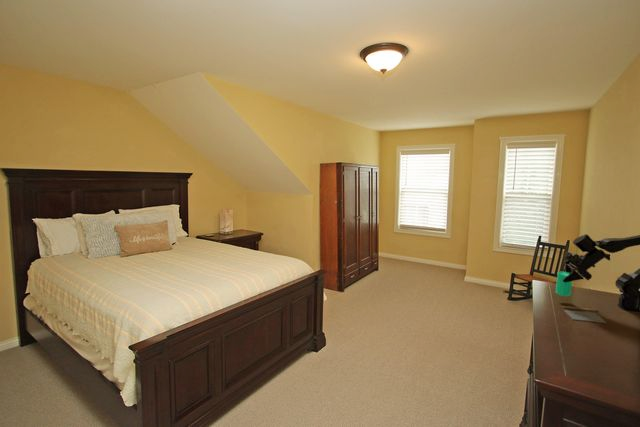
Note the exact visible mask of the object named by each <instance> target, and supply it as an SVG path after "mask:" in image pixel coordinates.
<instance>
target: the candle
mask: <svg viewBox="0 0 640 427" xmlns="http://www.w3.org/2000/svg"><path fill="white" fill-rule="evenodd" d="M569 274H570V273H569V272H566V270H565V272H563V270H558V271H557V277H556V283H555V293H556V294H557V295H559V296H563V297H570V296H571V294H572V288H573V281H570V282H563V280H564V279H565V278H566V277H567V276H568V275H569Z"/></svg>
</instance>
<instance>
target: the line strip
mask: <svg viewBox="0 0 640 427" xmlns="http://www.w3.org/2000/svg"><path fill="white" fill-rule="evenodd" d="M561 308H562V309H568V310H577V311H579V310H580V311H589V312H590V311H593V312H599V310H598V308H590V307H589V308H588V307H580V306H579V307H578V306H569V305H568V306H566V305H561Z"/></svg>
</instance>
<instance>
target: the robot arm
mask: <svg viewBox="0 0 640 427" xmlns="http://www.w3.org/2000/svg"><path fill="white" fill-rule="evenodd" d="M572 244H573V245H574V246H575V247H577V249H578V250H580V252H582V253H585V252H586V253H585V254H583V255H582V254H580V255H579V254H578V253H572V252H569V251H565V253H564V254H563V256H562V257H563V258H565V259H563V263H564V264H563V265H564V269H563V270H562V271H563V272H565V270H566V272H569V273H570V274H569V275H568V276H567V277H566V278H565V279H564V280H563V282H570V281H572V282H574V281H580V280H586V281H589V280H591V279H592V277H593V276H592V274H591V273H590V272H589V271H588V270H589V269H591V268H595V267H596V264H598V263H599V262H601V261H602V260H604V259H605V260H607V261H611V254H614V253H618V252H622V251H624V250H625V249H628V248H630V247H636V246H640V234H638V235H632V236H627V237H626V236H625V237H610V238H609V237H608V238H607V237H606V238H603V239H600V240H593V239H592V237H590V235H589V234H583V235H581V236H577V237H576V238H575V239H573V241H572ZM599 248H600V249H599ZM615 287H616V288H617V289H618V291H619V292H620V296H619V297H618V303H617V306H619V307H620V308H621V309H623V310H624V311H631V312H640V267H639V268H638V269H637V270H635V271H633V273H626V272H623V273H622V274H621V276H618V277H616V280H615Z"/></svg>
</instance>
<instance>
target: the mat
mask: <svg viewBox="0 0 640 427" xmlns="http://www.w3.org/2000/svg"><path fill="white" fill-rule="evenodd" d="M562 311H563V312H564V313H565V314H566V315H567V316H568V317H569V318H570V319H571V320H572V321H579V322H581V321H582V322H589V323H601V324H607V321H605V319H603V318H602V317H600V316H599V315H598V314H597V313H595V312H590V311H581V310H580V311H579V310H570V309H568V310H566V309H563V310H562Z"/></svg>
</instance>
